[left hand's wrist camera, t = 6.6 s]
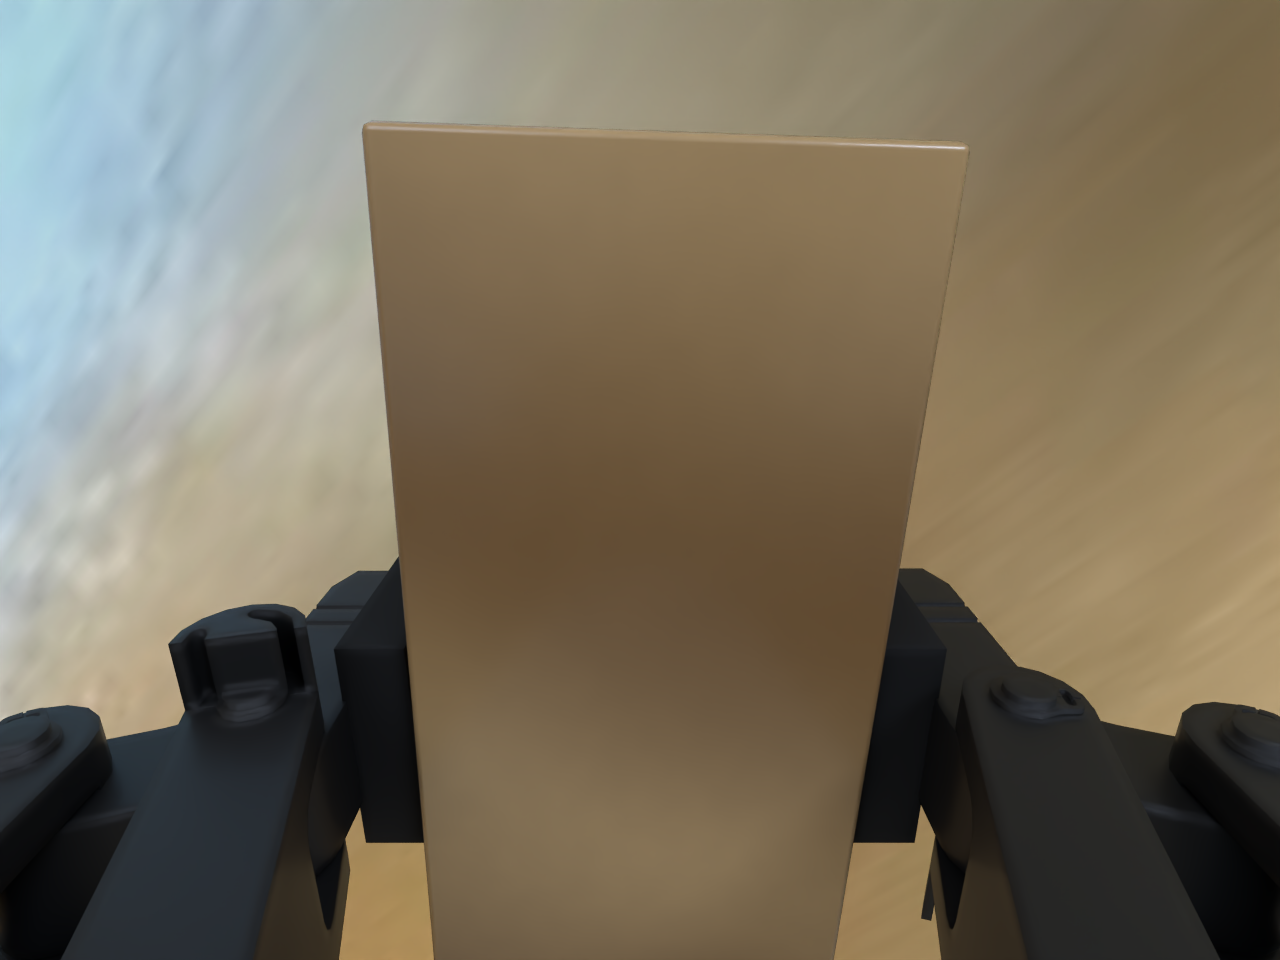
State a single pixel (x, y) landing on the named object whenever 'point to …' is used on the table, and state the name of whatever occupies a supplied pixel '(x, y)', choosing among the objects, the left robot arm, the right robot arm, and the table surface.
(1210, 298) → the table surface
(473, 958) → the bar
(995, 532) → the table surface
